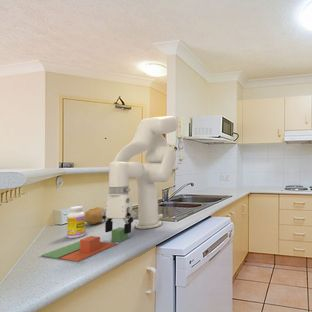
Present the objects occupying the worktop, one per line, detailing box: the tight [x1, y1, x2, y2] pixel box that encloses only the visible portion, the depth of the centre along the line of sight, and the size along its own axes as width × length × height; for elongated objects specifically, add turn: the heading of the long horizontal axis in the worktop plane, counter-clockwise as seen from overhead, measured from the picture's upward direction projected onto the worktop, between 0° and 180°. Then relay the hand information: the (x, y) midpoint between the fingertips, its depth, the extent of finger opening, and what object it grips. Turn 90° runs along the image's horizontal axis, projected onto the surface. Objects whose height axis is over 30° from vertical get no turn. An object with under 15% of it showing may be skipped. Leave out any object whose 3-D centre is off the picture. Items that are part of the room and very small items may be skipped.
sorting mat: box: [41, 240, 117, 263], centre depth 87 cm, size 16×17×1 cm
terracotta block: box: [79, 235, 101, 253], centre depth 85 cm, size 4×4×4 cm
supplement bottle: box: [66, 205, 86, 239], centre depth 103 cm, size 7×7×13 cm
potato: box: [84, 206, 105, 225], centre depth 123 cm, size 10×14×8 cm
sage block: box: [111, 226, 129, 243], centre depth 97 cm, size 4×4×4 cm
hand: (118, 232), depth 96 cm, fingers open, 9 cm apart
